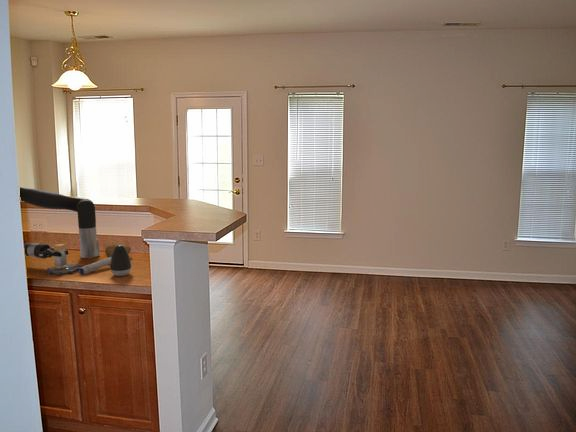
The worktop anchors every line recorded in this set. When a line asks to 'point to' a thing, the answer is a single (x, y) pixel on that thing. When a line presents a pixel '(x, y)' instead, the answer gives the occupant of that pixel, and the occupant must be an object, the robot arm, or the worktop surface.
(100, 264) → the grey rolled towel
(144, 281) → the worktop surface
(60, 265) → the grey translucent cylinder
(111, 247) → the potato
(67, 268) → the sprocket
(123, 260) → the black egg-shaped piece
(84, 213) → the robot arm
